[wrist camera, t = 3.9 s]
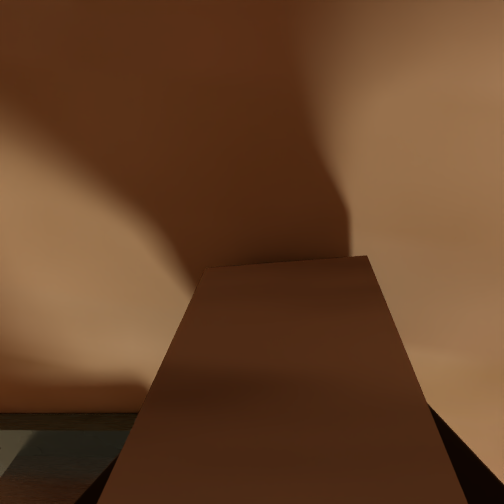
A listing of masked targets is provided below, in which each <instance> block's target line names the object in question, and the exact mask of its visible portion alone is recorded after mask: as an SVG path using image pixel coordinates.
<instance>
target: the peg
mask: <svg viewBox="0 0 504 504" xmlns="http://www.w3.org/2000/svg"><path fill="white" fill-rule="evenodd" d="M97 504H468V503H467V500H466V498H465V495H464V493H463V490H462V488H461V486H460V483H459V481H458V478H457V476H456V473H455V471H454V468H453V466H452V463H451V461H450V458H449V456H448V454H447V451H446V449H445V446H444V444H443V441H442V439H441V436H440V434H439V431H438V429H437V427H436V424H435V422H434V419H433V417H432V414H431V412H430V409H429V407H428V404H427V402H426V399H425V397H424V395H423V392H422V390H421V387H420V385H419V382H418V380H417V377H416V375H415V372H414V370H413V367H412V365H411V363H410V360H409V358H408V355H407V353H406V350H405V348H404V345H403V343H402V340H401V338H400V335H399V333H398V331H397V328H396V326H395V323H394V321H393V318H392V316H391V313H390V311H389V308H388V306H387V303H386V301H385V299H384V296H383V294H382V291H381V289H380V286H379V284H378V281H377V279H376V276H375V274H374V272H373V269H372V267H371V264H370V262H369V259H368V257H367V256H354V257H341V258H328V259H315V260H301V261H288V262H275V263H262V264H249V265H236V266H223V267H210V268H205V271H204V273H203V275H202V277H201V279H200V281H199V284H198V286H197V288H196V290H195V292H194V294H193V297H192V299H191V301H190V303H189V305H188V307H187V310H186V312H185V314H184V316H183V318H182V320H181V323H180V325H179V327H178V329H177V331H176V333H175V336H174V338H173V340H172V342H171V344H170V346H169V349H168V351H167V353H166V355H165V357H164V359H163V362H162V364H161V366H160V368H159V370H158V372H157V375H156V377H155V379H154V381H153V383H152V385H151V388H150V390H149V392H148V394H147V396H146V398H145V401H144V403H143V405H142V407H141V409H140V411H139V414H138V416H137V418H136V420H135V422H134V424H133V427H132V429H131V431H130V433H129V435H128V437H127V440H126V442H125V444H124V446H123V448H122V450H121V453H120V455H119V457H118V459H117V461H116V463H115V466H114V468H113V470H112V472H111V474H110V476H109V479H108V481H107V483H106V485H105V487H104V489H103V492H102V494H101V496H100V498H99V500H98V502H97Z"/></svg>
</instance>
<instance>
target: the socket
mask: <svg viewBox="0 0 504 504" xmlns="http://www.w3.org/2000/svg"><path fill="white" fill-rule="evenodd" d="M138 414H139V413H138ZM138 414H0V504H73V503H74V502H75V501H76V500H77V499H78V498H79V497H80V496H81V495H82V493H83V492H84V491H85V490H86V489H87V488H88V487H89V486H90V485H91V484H92V483H93V481H94V480H95V479H96V478H97V477H98V476H99V475H100V474H101V473H102V472H103V470H104V469H105V468H106V467H107V466H108V465H109V464H110V463H111V462H112V461H113V459H114V458H115V457H116V456H117V455H118V454H119V453H120V452H121V450H122V448H123V446H124V444H125V442H126V440H127V437H128V435H129V433H130V431H131V429H132V427H133V424H134V422H135V420H136V418H137V416H138Z"/></svg>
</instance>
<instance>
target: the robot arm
mask: <svg viewBox="0 0 504 504" xmlns="http://www.w3.org/2000/svg"><path fill="white" fill-rule="evenodd" d="M427 404H428V403H427ZM428 407H429V409H430V412H431V414H432V417H433V419H434V422H435V424H436V427H437V429H438V431H439V434H440V436H441V439H442V441H443V444H444V446H445V449H446V451H447V454H448V456H449V458H450V461H451V463H452V466H453V468H454V471H455V473H456V476H457V478H458V481H459V483H460V486H461V488H462V490H463V493H464V495H465V498H466V500H467V503H468V504H504V484H503V483H502V482H501V481H500V480H499V479H498V478H497V477H496V476H495V475H494V474H493V473H492V472H491V470H490V469H489V468H488V467H487V466H486V465H485V464H484V463H483V462H482V461H481V460H480V459H479V458H478V457H477V456H476V454H475V453H474V452H473V451H472V450H471V449H470V448H469V447H468V446H467V445H466V444H465V443H464V442H463V441H462V440H461V439H460V437H459V436H458V435H457V434H456V433H455V432H454V431H453V430H452V429H451V428H450V427H449V426H448V425H447V424H446V423H445V421H444V420H443V419H442V418H441V417H440V416H439V415H438V414H437V413H436V412H435V411H434V410H433V409H432V408H431V407H430V406H429V404H428ZM120 453H121V452H120ZM120 453H119V454H118V455H117V456H116V457H115V458H114V459H113V461H112V462H111V463H110V464H109V465H108V466H107V467H106V468H105V469H104V470H103V472H102V473H101V474H100V475H99V476H98V477H97V478H96V479H95V480H94V481H93V483H92V484H91V485H90V486H89V487H88V488H87V489H86V490H85V491H84V492H83V493H82V495H81V496H80V497H79V498H78V499H77V500H76V501H75V502H74V503H73V504H97V502H98V500H99V498H100V496H101V494H102V492H103V489H104V487H105V485H106V483H107V481H108V479H109V476H110V474H111V472H112V470H113V468H114V466H115V463H116V461H117V459H118V457H119V455H120Z"/></svg>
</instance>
